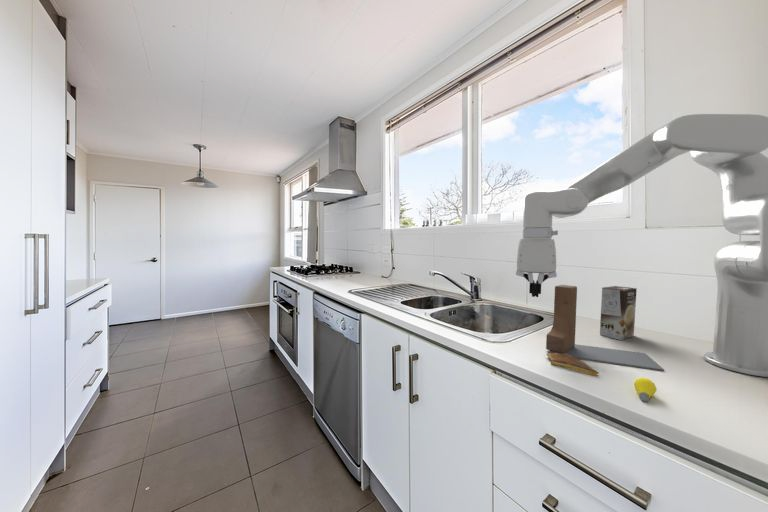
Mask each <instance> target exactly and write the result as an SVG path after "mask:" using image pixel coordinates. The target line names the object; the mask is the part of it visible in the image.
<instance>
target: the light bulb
mask: <svg viewBox="0 0 768 512" xmlns="http://www.w3.org/2000/svg"><path fill="white" fill-rule="evenodd" d="M633 387H634V389H635V391H636V392H637V393H638V395H639V400H640V401H642V402H643V403H644V402H645V403H648V402H649V401H650V398H651V397H653V396H654V395H655V394H656V392H657V391H658V390H657V387H656V385H655V382H654V381H652V380H650V378H646V377H637V378H636V379H635V380H634V382H633Z"/></svg>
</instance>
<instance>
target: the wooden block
mask: <svg viewBox="0 0 768 512" xmlns="http://www.w3.org/2000/svg"><path fill="white" fill-rule="evenodd" d="M577 294H578V287H577V286H575V285H569V284H567V285H565V284H559V285H555V286H554V297H553V298H554V299H553V300H554V301H553V306H554V307H553V322H552V327H551V329H550V331H549V332H547V334H546V341H545V342H546V343H545V349H546V350H548V351H549V350H551V351H554V352H558V353H565V352H566V351H568V350H570V349H571V348H573V347H574V346H575V344H576V329H577V328H576V325H577V324H576V323H577V303H578V302H577V300H578V299H577V298H578V297H577V296H578V295H577Z"/></svg>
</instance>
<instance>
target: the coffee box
mask: <svg viewBox="0 0 768 512" xmlns="http://www.w3.org/2000/svg"><path fill="white" fill-rule="evenodd" d="M601 289H602V290H601V304H600V323H599V325H600V326H599V335H600V336H604V337H606V338H611V339H615V340H619V341H623V340H625V339H628V337H629V338H631V336H632V337H633V335H634V336H635V322H636V321H635V319H636V305H637V304H636V303H637V289H638V288H637V287H629V286H628V287H627V286H617V285H613V286H605V287H601Z"/></svg>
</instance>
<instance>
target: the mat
mask: <svg viewBox="0 0 768 512" xmlns="http://www.w3.org/2000/svg"><path fill="white" fill-rule="evenodd" d="M548 351H549V353H558V352H554V351H551V350H548ZM563 354H567V355H572V356H573V357H575V358H577V359H579V360H585V361H591V362H597V363H605V364H612V365H618V366H619V365H620V366H626V367H632V368H640V369H646V370H653V371H654V370H655V371H660V372H665V369H664V368H663V367H662V366H661V365H660V364H658V362H656V360H654V359H652V358H651V357H650V356H649V355H648V354H647V353H645V352H639V351H632V350H631V351H630V350H624V349H615V348H607V347H600V346H591V345H586V344H585V345H584V344H577V343H575V346H574V347H573V348H571V349H570V350H568V351H566V352H565V353H563Z"/></svg>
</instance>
